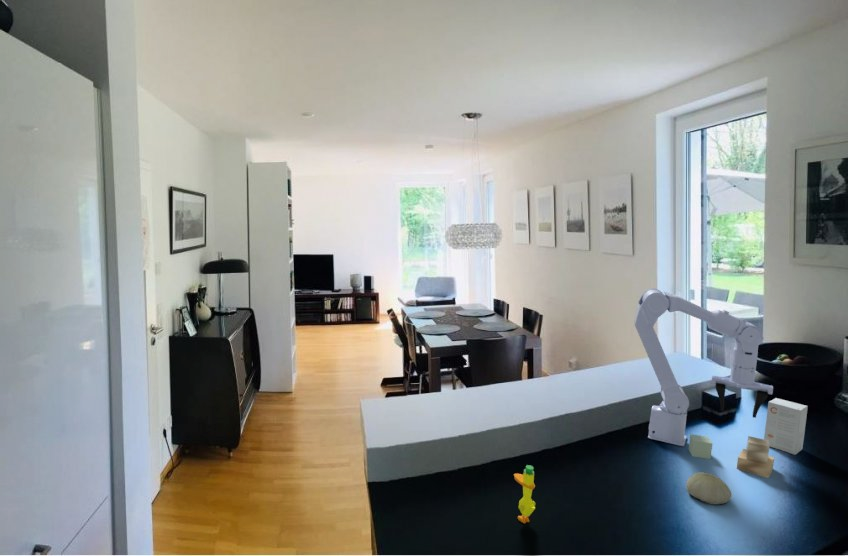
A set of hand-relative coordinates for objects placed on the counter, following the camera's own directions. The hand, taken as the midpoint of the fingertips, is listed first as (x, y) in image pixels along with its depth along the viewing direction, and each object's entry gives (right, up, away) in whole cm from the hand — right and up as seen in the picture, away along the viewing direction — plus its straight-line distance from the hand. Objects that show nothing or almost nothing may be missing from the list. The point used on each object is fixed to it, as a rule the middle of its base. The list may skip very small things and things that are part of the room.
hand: (737, 413), depth 146 cm
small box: (+15, -11, +4) cm, 19 cm away
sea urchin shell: (-22, -13, -25) cm, 36 cm away
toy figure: (-67, -13, -38) cm, 78 cm away
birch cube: (-2, -9, -11) cm, 14 cm away
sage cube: (-12, -11, -3) cm, 17 cm away
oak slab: (-2, -12, -10) cm, 16 cm away
